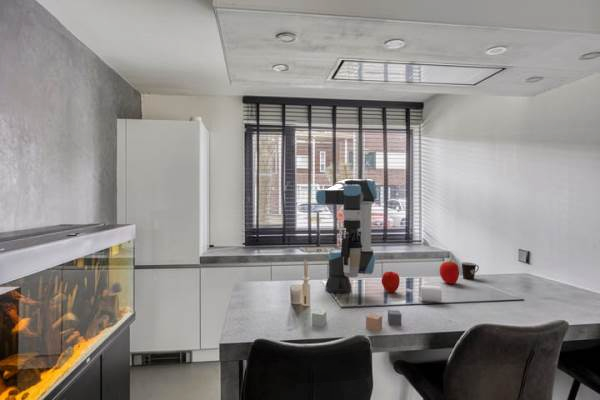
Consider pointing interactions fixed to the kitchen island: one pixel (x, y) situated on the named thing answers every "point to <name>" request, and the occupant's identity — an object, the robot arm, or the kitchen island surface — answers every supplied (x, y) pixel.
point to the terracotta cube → (374, 322)
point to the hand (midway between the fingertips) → (351, 270)
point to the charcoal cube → (394, 317)
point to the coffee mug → (469, 270)
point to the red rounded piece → (390, 281)
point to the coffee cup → (354, 258)
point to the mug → (430, 294)
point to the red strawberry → (449, 272)
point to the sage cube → (319, 317)
